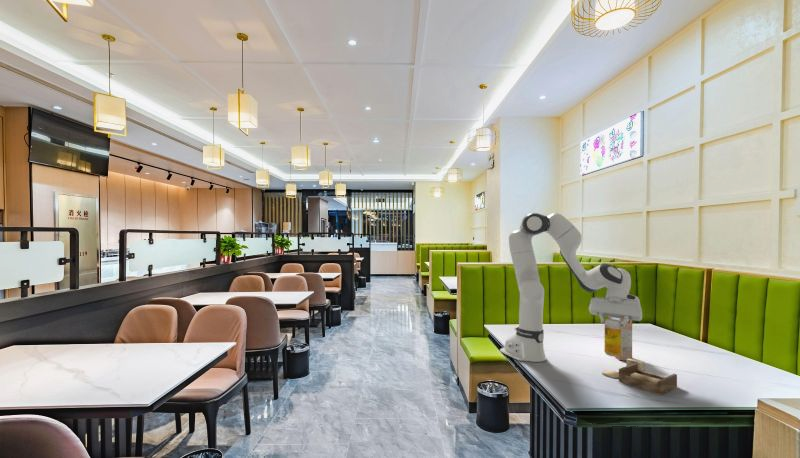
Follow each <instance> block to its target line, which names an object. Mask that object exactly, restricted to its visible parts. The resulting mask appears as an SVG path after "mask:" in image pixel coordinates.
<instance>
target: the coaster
mask: <svg viewBox="0 0 800 458" xmlns="http://www.w3.org/2000/svg"><path fill="white" fill-rule="evenodd" d="M601 372H602V373H601V374H602V375H603V376H605V377H607V378H611V379H617V380H619V371H616V370H615V371H614V370H608V369H605V370H602V371H601Z"/></svg>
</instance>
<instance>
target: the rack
mask: <svg viewBox="0 0 800 458" xmlns="http://www.w3.org/2000/svg"><path fill="white" fill-rule="evenodd" d="M618 372H619V379H618V381H619V382H620V383H623V384H626V385H629V386H633V387H635V388H639V389H642V390H645V391H648V392H651V393H653V394H657V395H660V396H662V395H665V394H667V393H668V392H670V391H672V390H674V389H676V388H677V387H678V374H676V373H672V374H670V375H668V376H666V377H665V376H661V375H659V374H658V375H657V374H655V373H652V372H647V371H644V370H638V364H637V363H634V364H631V365H628V366H626V365H625V366H624V367H620V368H618ZM632 373H638V374H641V375H645V376H649V377H653V378H657V379H660V380H659V381H658V385H656V384H653V383H650V382H646V381H643V380H640V379H637V378H633V377H631V374H632Z"/></svg>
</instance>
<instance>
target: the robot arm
mask: <svg viewBox="0 0 800 458" xmlns="http://www.w3.org/2000/svg"><path fill="white" fill-rule="evenodd" d="M543 233H547V234H548V235H549V236H551V237H552V239H553V240H554V241H555V242H556V243H557V245H558V247H559V254H560V256H561V258H562V260H563V261H564V262H565V265H567V267H568V269H569V270H570V271H571V272H572V274H573V276H574V277H575V279H576V281H577V282H578V285H579V286H580V287H581V289H582V290H583V291H586V292H588V293H595V292H597V291H599V290H600V289H602V288H606V289H607V290H606V294H605V297H600V296H594V297H592V298H590V304H589V307H588V311H589V313H590V314H591V315H592V316H599V319H600V324H604V325H605V320H606V319H605V318H604V317H608V318H609V317H614V318H621V319H625V320H623V321H621V323H620V325H621V326H622V327H625V324H626V323H627V322H628V321H629V320H632V321H636V322H641V321H642V320H643V311H642V306H641V302H640V298H639V297H638V296H637V295H633V294H630V290H631V287H632V279H631V274H630V273H629V272H628V271H627V270H626V269H624V268H620V267H619V268H618V267H615V266H613V265H611V264H609V263H606V262H605V263H602V264H599V265H597V266H595V267H593V268H592V269H589V270H588V269H585V268H584V266H583V264H582V263H581V262H580V260H579V259H578V257H577V250H578V248H579V247H580V245H581V243H582V234H581V232H580V231H579V229H578V228H577V227H575V225H574V224H573V223H572V222H571V221H570V220H568V219H567V218H566V217H565V216H563V215H562V214H561V213H559V212H553V213H551V214H549V215H547V216H546V215H544V214H540V213H539V212H538V213H537V212H536V213H535V212H530V213H528V214H526V215H525V216H524V217H523V218H522V220H521V224H520V226H519V229H517V230H513V231H512V232H510V233H509V236H508V244H509V245H508V247H509V252H510V256H511V261H512V265H513V269H514V274H515V279H516V283H517V287H518V291H519V307H518V308H519V310H518V319H519V320H518V327H514V331H516V332H515V333H514V334H513V335H512V336H510V337H508V338H507V339H506V340H505V342H504V347H502V348H500V349H499V352H500V353H502V354H503V355H504V354H505V355H507V356H508V357H510V358H513V359H515V360H517V361H522V362H533V363H537V362H538V363H541V362H545V361H546V360H547V356H546V353H545V349H544V332H545V331H544V329H543V328H544V327H543V325H544V324H543V320H544V319H543V318H544V303H545V288H544V286H543V284H542V283H541V280H540V275H539V269H538V265H537V260H536V255H535V251H534V247H533V243H532V240H533V239H532V238H533V237H534V236H537V235H541V234H543Z"/></svg>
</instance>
